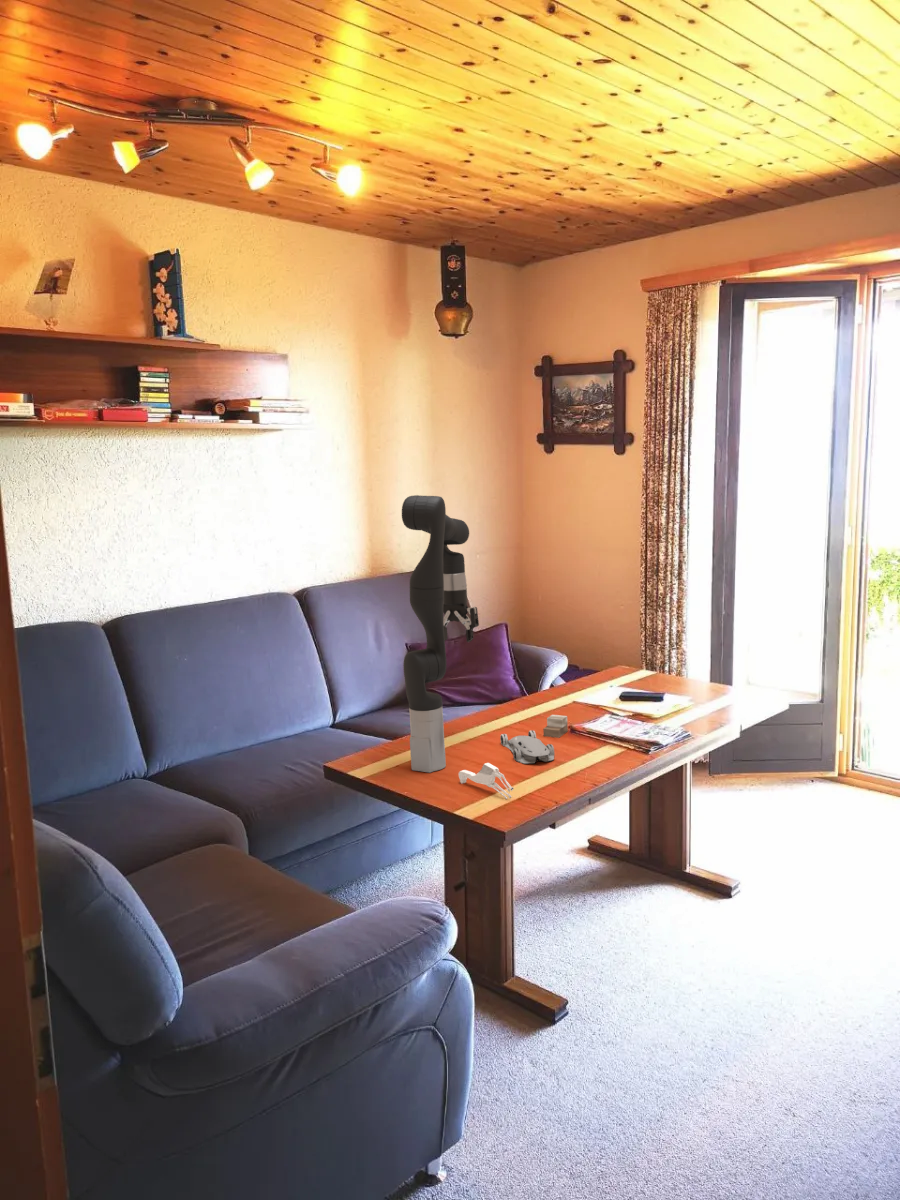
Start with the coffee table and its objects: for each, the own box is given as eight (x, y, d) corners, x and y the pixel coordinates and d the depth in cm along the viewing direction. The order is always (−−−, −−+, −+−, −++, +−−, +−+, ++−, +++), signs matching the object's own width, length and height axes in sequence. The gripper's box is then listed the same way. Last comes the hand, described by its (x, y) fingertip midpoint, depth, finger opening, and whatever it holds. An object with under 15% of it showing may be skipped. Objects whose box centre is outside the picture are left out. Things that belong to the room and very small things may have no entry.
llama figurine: (505, 818, 233) (461, 777, 245) (516, 783, 228) (470, 743, 240) (500, 821, 232) (456, 779, 244) (510, 785, 227) (464, 744, 239)
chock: (552, 730, 285) (552, 714, 284) (567, 731, 283) (567, 716, 282) (543, 736, 279) (543, 720, 278) (559, 738, 277) (558, 722, 276)
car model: (533, 739, 278) (533, 723, 277) (561, 764, 254) (560, 746, 253) (498, 743, 275) (497, 727, 275) (522, 769, 252) (521, 751, 251)
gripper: (427, 589, 277) (430, 642, 279) (468, 589, 270) (471, 644, 272) (439, 585, 283) (443, 637, 286) (480, 586, 276) (483, 639, 278)
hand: (457, 640), depth 279 cm, fingers open, 8 cm apart
